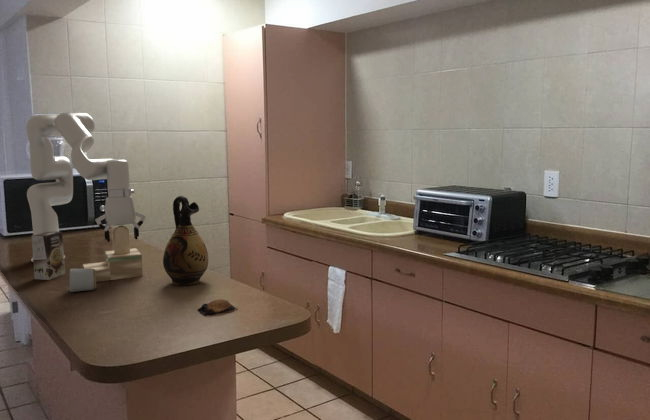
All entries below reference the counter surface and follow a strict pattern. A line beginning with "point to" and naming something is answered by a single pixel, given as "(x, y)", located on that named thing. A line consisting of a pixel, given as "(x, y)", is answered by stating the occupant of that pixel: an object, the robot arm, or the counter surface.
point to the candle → (121, 240)
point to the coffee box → (48, 255)
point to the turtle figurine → (216, 307)
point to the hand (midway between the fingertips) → (122, 240)
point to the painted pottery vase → (185, 247)
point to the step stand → (118, 266)
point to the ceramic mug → (82, 279)
